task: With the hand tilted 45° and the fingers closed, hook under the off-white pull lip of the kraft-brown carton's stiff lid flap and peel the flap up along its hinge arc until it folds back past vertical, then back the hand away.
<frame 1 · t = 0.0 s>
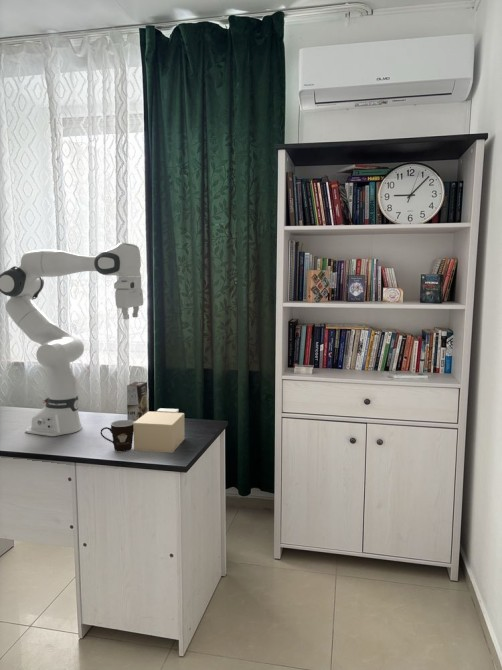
hand: (130, 318, 204), 48 cm above the table, tool pointing down, fingers open, 8 cm apart
carton: (160, 444, 197), on the table
coffee box: (137, 418, 233), on the table
flap: (161, 416, 198), point 11 cm above the table, hinge at 0.0°
coffee mug: (119, 449, 192), on the table
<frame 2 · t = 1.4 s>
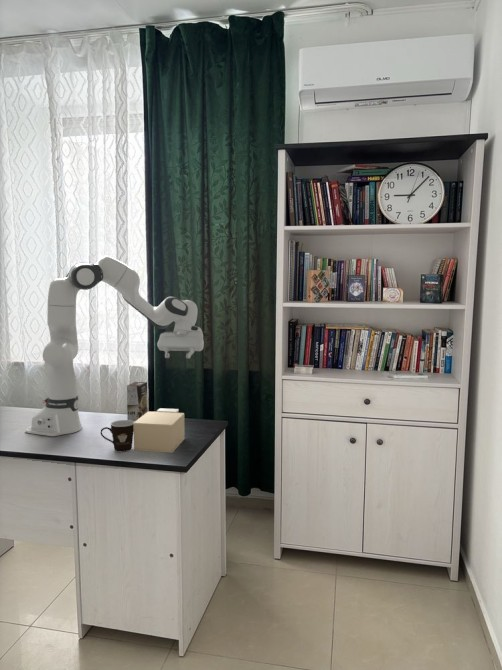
hand: (177, 357, 217), 30 cm above the table, tool tilted 45°, fingers open, 8 cm apart
nothing on the table moved.
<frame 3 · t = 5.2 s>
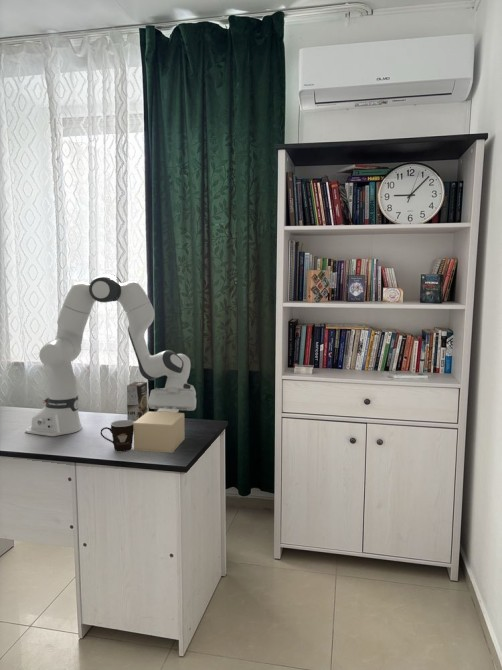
hand: (168, 417, 207), 8 cm above the table, tool tilted 45°, fingers closed, pressing on flap
flap: (161, 416, 198), point 11 cm above the table, hinge at 0.0°, touching gripper
everything else where it was.
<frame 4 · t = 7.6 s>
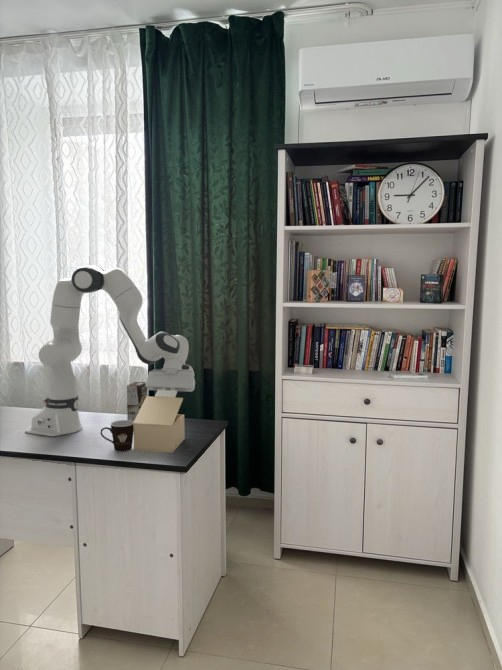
hand: (166, 398, 204), 16 cm above the table, tool tilted 45°, fingers closed, pressing on flap
flap: (160, 407, 196), point 15 cm above the table, hinge at 24.8°, touching gripper
everything else where it was.
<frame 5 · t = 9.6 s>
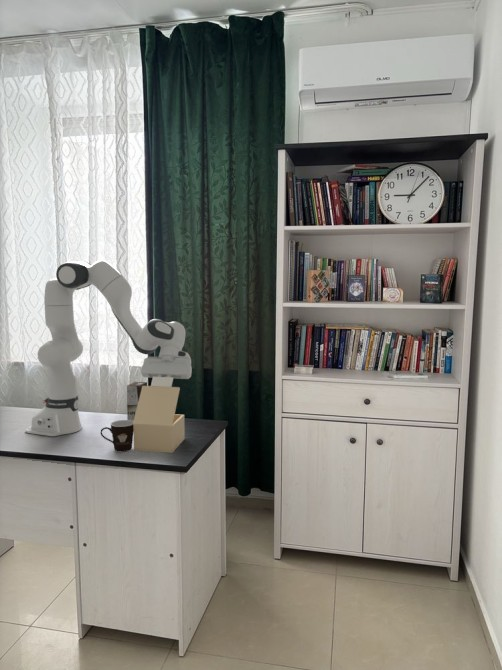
hand: (162, 386, 198), 22 cm above the table, tool tilted 45°, fingers closed, pressing on flap
flap: (157, 400, 193), point 18 cm above the table, hinge at 49.0°, touching gripper
everything else where it was.
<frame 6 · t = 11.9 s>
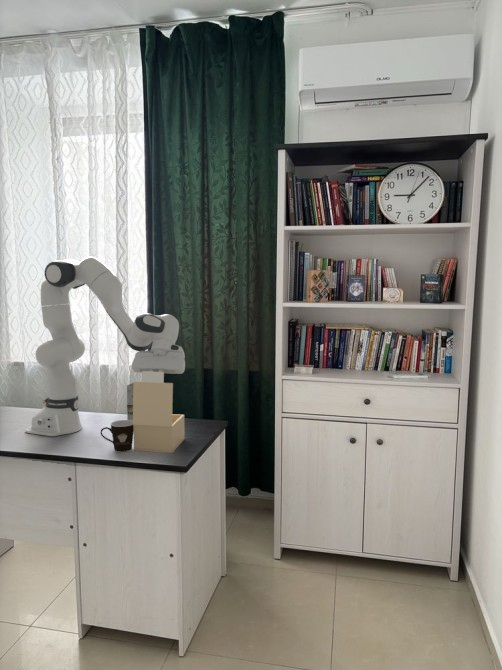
hand: (154, 381, 188), 26 cm above the table, tool tilted 45°, fingers closed, pressing on flap
flap: (152, 398, 187), point 20 cm above the table, hinge at 84.3°, touching gripper
everything else where it was.
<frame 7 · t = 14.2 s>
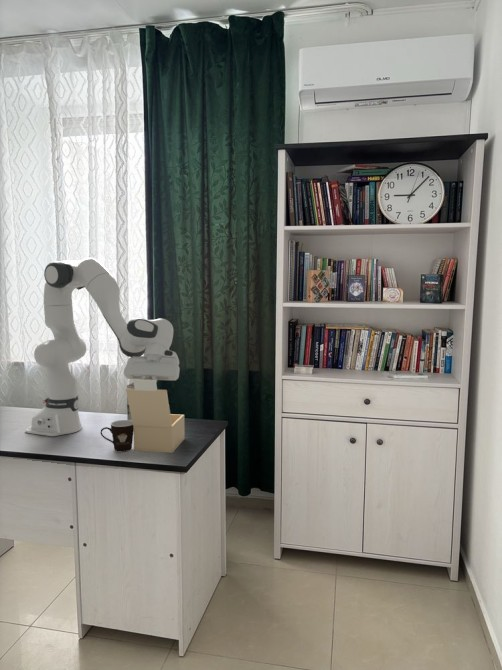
hand: (147, 388, 181), 25 cm above the table, tool tilted 45°, fingers closed, pressing on flap
flap: (148, 403, 183), point 19 cm above the table, hinge at 110.3°, touching gripper
everything else where it was.
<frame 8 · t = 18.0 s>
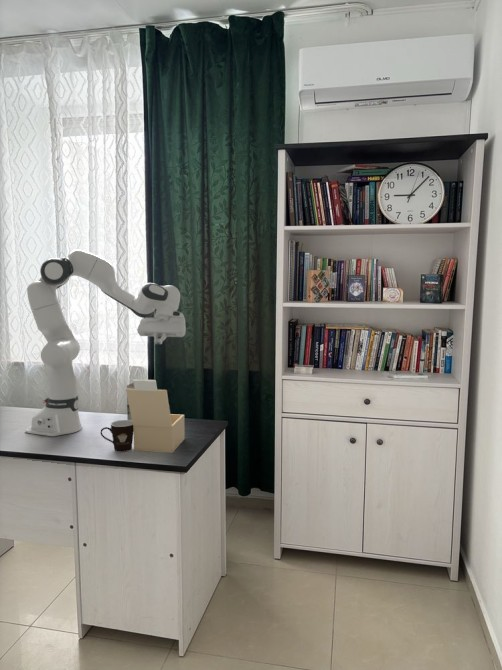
hand: (157, 343, 209), 37 cm above the table, tool tilted 45°, fingers closed
flap: (148, 403, 183), point 19 cm above the table, hinge at 110.3°
everything else where it was.
at the end: flap at +110° (first picture: +0°); the gripper is holding nothing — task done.
